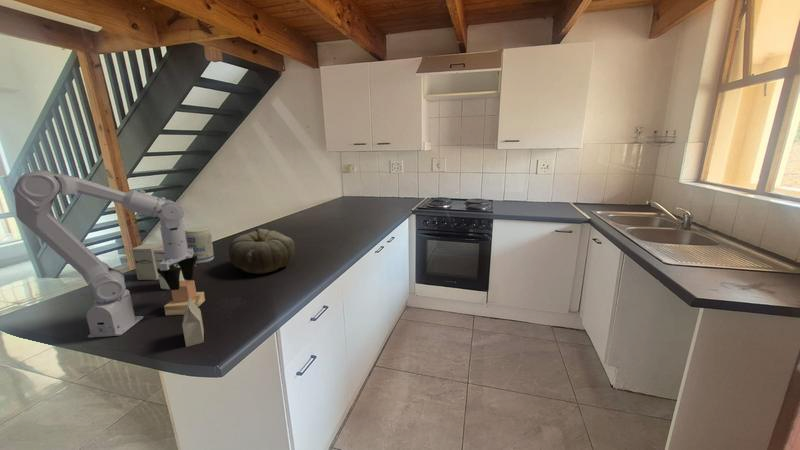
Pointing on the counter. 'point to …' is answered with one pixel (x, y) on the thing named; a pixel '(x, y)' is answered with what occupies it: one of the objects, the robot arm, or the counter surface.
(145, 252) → the supplement box
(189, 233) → the supplement tub
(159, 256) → the syrup box
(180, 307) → the beech block
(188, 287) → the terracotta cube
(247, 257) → the gourd
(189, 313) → the tea bag
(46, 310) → the counter surface
